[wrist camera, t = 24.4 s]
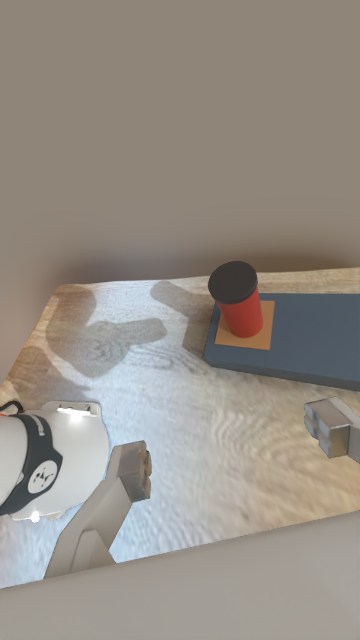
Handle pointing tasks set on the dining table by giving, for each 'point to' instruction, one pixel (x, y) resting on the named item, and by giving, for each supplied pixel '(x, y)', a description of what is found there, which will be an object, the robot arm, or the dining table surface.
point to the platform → (295, 340)
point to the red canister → (237, 297)
